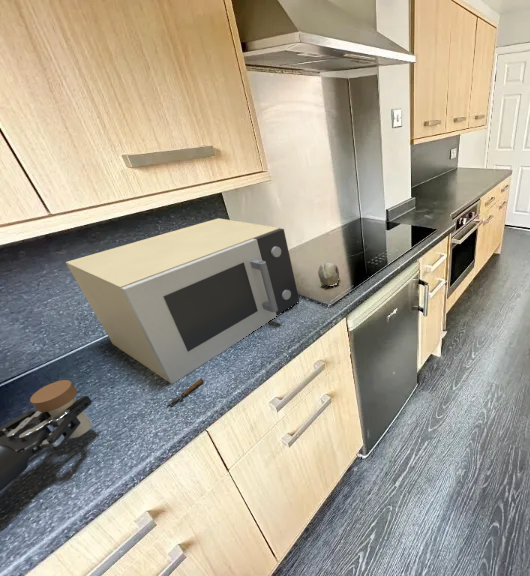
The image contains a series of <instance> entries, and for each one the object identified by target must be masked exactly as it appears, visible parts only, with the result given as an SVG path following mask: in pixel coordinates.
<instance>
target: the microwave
mask: <svg viewBox="0 0 530 576" xmlns="http://www.w3.org/2000/svg"><path fill="white" fill-rule="evenodd" d="M251 239H257V242H258V246H259V250H260V254H261V258H262V261H265V262H266V265H267V269H268V273H269V277H270V280H271V284H272V288H273V292H274V296H275V300H276V304H277V308H278V311H277V312H276V315H279V314H280V313H282V312H283V311H285V310H286V309H288V308H290V307H291V306H293V305H294V304H296V303H297V302H300V297H299V293H298V288H297V284H296V279H295V274H294V270H293V265H292V261H291V256H290V251H289V246H288V242H287V238H286V233H285V229H284V228H281V227H277V226H270V225H265V224H257V223H251V222H245V221H239V220H231V219H226V218H220V217H219V218H214V219H211V220H208V221H204V222H200V223H197V224H194V225H190V226H187V227H183V228H180V229H176V230H173V231H169V232H166V233H162V234H159V235H155V236H151V237H147V238H145V239H141V240H137V241H134V242H131V243H126V244H123V245H120V246H117V247H112V248H110V249H106V250H102V251H100V252H96V253H93V254H88V255H86V256H82V257H78V258H75V259H72V260H68V261H65V264H66V265H67V267H68V269H69V271H70V273H71V274H72V276H73V278H74V279H75V281H76V284H78V287H79V288H80V291H82V294H83V295H84V297H85V298H86V300H87V302H88V304H89V306H90V308H91V309H92V311H93V313H94V314H95V316H96V318H97V319H98V321H99V323H100V325H101V326H102V328H103V330H104V332H105V333H106V335H107V337H108V338H109V340H110V342H111V344H112V345H113V346H115V347H116V348H118V349H119V350H120V351H121V352H123V353H125V354H127V356H130V357H131V358H132V359H134V360H136V362H139V363H140V364H141V365H143V366H144V367H146V368H147V369H149V370H150V371H152V372H153V373H155V374H156V375H158V377H160V378H162V379H163V380H165V381H167V382H168V383H170V382H169V381H168V379H167V377H166V375H165V373H164V371H163V369H162V367H161V365H160V364H159V362H158V360H157V358H156V356H155V354H154V352H153V350H152V348H151V346H150V344H149V342H148V340H147V338H146V336H145V334H144V332H143V330H142V328H141V326H140V324H139V322H138V320H137V318H136V316H135V314H134V312H133V310H132V309H131V307H130V305H129V303H128V301H127V299H126V297H125V295H124V293H123V291H122V289H121V288H122V287H125V286H127V285H130V284H133V283H135V282H138V281H141V280H143V279H146V278H149V277H152V276H154V275H157V274H160V273H162V272H165V271H168V270H170V269H173V268H176V267H178V266H181V265H184V264H187V263H189V262H192V261H195V260H197V259H200V258H203V257H205V256H208V255H211V254H213V253H216V252H219V251H221V250H224V249H227V248H230V247H232V246H235V245H238V244H240V243H243V242H246V241H248V240H251ZM296 305H297V304H296ZM293 307H294V306H293ZM290 309H291V308H290ZM285 312H286V311H285ZM282 314H283V313H282ZM279 316H280V315H279Z"/></svg>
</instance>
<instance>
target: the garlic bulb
mask: <svg viewBox="0 0 530 576" xmlns="http://www.w3.org/2000/svg"><path fill="white" fill-rule="evenodd" d="M317 275H318V278H319V283H320V285H321V286H325V285H327V286H326V287H328V286H330V285H333V284H335V283H338V284H339V282H338V279H339V280H340V270H339V268H338V265H336V264H335V263H333V262H328V261H323V262H322V263H321V264H320V266H319V267H318V271H317Z"/></svg>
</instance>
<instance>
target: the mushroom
mask: <svg viewBox="0 0 530 576" xmlns="http://www.w3.org/2000/svg"><path fill="white" fill-rule="evenodd" d="M77 394H78V390H77V388H76V387H75V386H74V384H73V383H72V381H70V380H68V379H62V380H61V379H60V380H57V381H54V382H51V383H48V384H47V385H45V386H43V387H41V388H39V389H38V390H37V391H35V392H34V393H33V394H32V395H31V396H30V398H29V401H30V403H31V404H32V405H33V407H34V408H35V410H36V411H39V412H48V413H49V414H50V415H51V416H52V418H54V417H56V416H57V415H59V414H60V413H62V412H64V411H65V410H66V409H67V408H68V407H70V406H71V405H72V404H73V403H75V402H76V401H77V400H76V398H75V397H76V396H78V395H77ZM77 418H78V420H79V421H80V422H81V423H80V425H79V426H78V427H77V428H76V430H75V431H74V432H73V434H72V435H71V436H70V437H69V439H75V438H78V437H81V436H82V435H84V434H86V433H87V432H89V431H90V430H91V428H92V427H93V422H92V421H91V419H90V417H89V416H88V415H87V413H86V412H85V410H84V411H83V412H81V413H80V414H79V415H78V416H77ZM63 420H64V418H63V419H61V420H60V421H58V425H59V424H60V423H61V422H62V421H63ZM68 426H70V425H68Z"/></svg>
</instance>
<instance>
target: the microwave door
mask: <svg viewBox="0 0 530 576" xmlns="http://www.w3.org/2000/svg"><path fill="white" fill-rule="evenodd" d="M121 289H122V291H123V293H124V295H125V297H126V299H127V301H128V303H129V305H130V307H131V309H132V310H133V312H134V314H135V316H136V318H137V320H138V322H139V324H140V326H141V328H142V330H143V332H144V334H145V336H146V338H147V340H148V342H149V344H150V346H151V348H152V350H153V352H154V354H155V356H156V358H157V360H158V362H159V364H160V365H161V367H162V369H163V371H164V373H165V375H166V377H167V379H168V381H169V382H168V381H167V382H168V383H170V384H171V385H173V384H174V383H176V382H178V381H179V380H181V379H182V378H184V377H186V376H187V375H189V374H190V373H192V372H194V371H195V370H196V369H198V368H200V367H202V366H203V365H205V364H206V363H208V362H209V361H211V360H213V359H214V358H216V357H217V356H218V355H220V354H221V353H223V352H225V351H227V350H229V349H230V348H231V347H233V346H234V345H236V344H238V343H239V342H240V340H241V341H242V340H244V339H245V338H247V337H248V335H249V334H250V335H252V334H253V333H254V332H253V331H255V330H256V329H258V328H260V327H261V326H263V325H264V324H266V323H267V322H269V321H270V320H272V319H273V318H275V317H276V316H277V315H276V312H277V311H278V308H277V304H276V300H275V296H274V292H273V288H272V284H271V280H270V277H269V273H268V269H267V265H266V262H265V261H262V258H261V254H260V250H259V246H258V242H257V239H251V240H248V241H246V242H243V243H240V244H238V245H235V246H232V247H230V248H227V249H224V250H221V251H219V252H216V253H213V254H211V255H208V256H205V257H203V258H200V259H197V260H195V261H192V262H189V263H187V264H184V265H181V266H178V267H176V268H173V269H170V270H168V271H165V272H162V273H160V274H157V275H154V276H152V277H149V278H146V279H143V280H141V281H138V282H135V283H133V284H130V285H127V286H125V287H122V288H121ZM277 317H278V316H277ZM275 319H276V318H275ZM272 321H273V320H272ZM269 323H270V322H269ZM267 324H268V323H267ZM267 324H266V325H267ZM264 326H265V325H264ZM264 326H263V327H264ZM261 328H262V327H261ZM261 328H260V329H261ZM258 330H259V329H258ZM256 331H257V330H256ZM256 331H255V332H256ZM252 332H253V333H252ZM251 333H252V334H251ZM250 335H249V336H250ZM246 336H247V337H246ZM243 338H244V339H243ZM237 342H238V343H237Z"/></svg>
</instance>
